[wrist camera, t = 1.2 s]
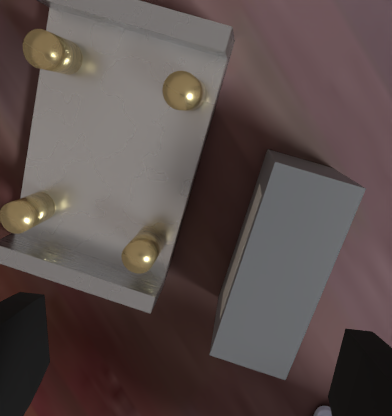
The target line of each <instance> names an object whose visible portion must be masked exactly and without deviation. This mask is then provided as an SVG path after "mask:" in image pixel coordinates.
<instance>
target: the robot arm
mask: <svg viewBox="0 0 392 416" xmlns="http://www.w3.org/2000/svg"><path fill="white" fill-rule="evenodd" d="M49 363H50V358H49V345H48V333H47V320H46V308H45V296H44V295H41V294H32V293H24V292H19V293H17V294H15V295H13V296H11V297H9V298H7V299H5V300H3V301H1V302H0V416H23V415H24V414H25V412H26V410H27V409H28V407H29V405H30V403H31V402H32V399H33V397H34V395H35V393H36V391H37V389H38V387H39V385H40V383H41V381H42V378H43V376H44V374H45V372H46V369H47V367H48V365H49ZM328 398H329V403H330V407H328V406H320V407H318V408H317V409H316V411H315V413H314V415H313V416H392V348H391V347H390V346H389V345H388V344H387V343H385V342H384V341H383V340H382V339H381V338H380V337H378V336H377V335H376V334H375V333H373V332H370V331H362V330H353V329H345V333H344V337H343V341H342V345H341V348H340V352H339V356H338V360H337V364H336V368H335V372H334V375H333V379H332V383H331V387H330V391H329V395H328Z"/></svg>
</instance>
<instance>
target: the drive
mask: <svg viewBox="0 0 392 416" xmlns="http://www.w3.org/2000/svg"><path fill="white" fill-rule="evenodd" d="M365 190H366V188H364V187H363V186H361V185H359V184H358V183H356V182H355V181H353V180H351V179H350V178H348V177H346V176H345V175H343V174H342V173H340V172H338V171H337V170H335V169H334V168H331V167H327V166H324V165H321V164H317V163H314V162H310V161H307V160H303V159H300V158H297V157H293V156H290V155H286V154H283V153H280V152H276V151H273V150H269V149H267V152H266V155H265V158H264V161H263V164H262V167H261V170H260V173H259V176H258V179H257V182H256V185H255V188H254V191H253V194H252V197H251V200H250V204H249V207H248V210H247V213H246V216H245V219H244V222H243V225H242V228H241V231H240V234H239V237H238V240H237V243H236V246H235V249H234V252H233V255H232V258H231V261H230V264H229V267H228V270H227V273H226V276H225V279H224V282H223V285H222V288H221V291H220V294H219V297H218V304H217V310H216V316H215V323H214V329H213V336H212V342H211V349H210V356H213V357H216V358H219V359H222V360H225V361H228V362H231V363H234V364H237V365H241V366H244V367H247V368H250V369H253V370H256V371H259V372H262V373H265V374H268V375H271V376H274V377H277V378H280V379H283V380H286V378H287V376H288V373H289V371H290V368H291V366H292V364H293V361H294V359H295V356H296V354H297V352H298V349H299V347H300V345H301V342H302V340H303V337H304V335H305V333H306V330H307V328H308V325H309V323H310V321H311V318H312V316H313V314H314V311H315V309H316V306H317V304H318V302H319V299H320V297H321V294H322V292H323V290H324V287H325V285H326V283H327V280H328V278H329V275H330V273H331V271H332V268H333V266H334V263H335V261H336V259H337V256H338V254H339V252H340V249H341V247H342V244H343V242H344V240H345V237H346V235H347V232H348V230H349V228H350V225H351V223H352V221H353V218H354V216H355V213H356V211H357V209H358V206H359V204H360V201H361V199H362V197H363V194H364V192H365Z"/></svg>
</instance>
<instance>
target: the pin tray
mask: <svg viewBox="0 0 392 416" xmlns="http://www.w3.org/2000/svg"><path fill="white" fill-rule="evenodd" d="M37 1H39V2H40V3H42V4H44V5H46V6H48V7H50V8H49V15H48V21H47V28H46V30H43V29H34V30H32V31H30V32H29V33H28V34H27V35H26V37H25V39H24V41H23V53H24V56H25V58H26V60H27V61H28V62H29V63H30V64H31V65H32V66H34V67H36V68H39V69H40V74H39V80H38V87H37V93H36V100H35V106H34V113H33V119H32V126H31V132H30V139H29V145H28V152H27V159H26V165H25V172H24V178H23V185H22V191H21V198H20V199H18V200H15V201H12V202H10V203H7V204H5V205H4V206H3V207H2V208H1V210H0V221H1V224H2V225H3V227H4V228H5V229H6V230H7V231H9V232H11V234H9V235H7V236H5V237H3V238H2V239H0V264H3V265H6V266H9V267H12V268H15V269H18V270H21V271H24V272H27V273H30V274H33V275H36V276H39V277H42V278H45V279H48V280H51V281H54V282H57V283H60V284H63V285H66V286H69V287H72V288H75V289H78V290H81V291H84V292H87V293H90V294H93V295H96V296H99V297H102V298H105V299H108V300H111V301H114V302H117V303H120V304H123V305H126V306H129V307H132V308H135V309H138V310H141V311H144V312H147V313H150V314H151V312H152V310H153V308H154V306H155V304H156V301H157V299H158V297H159V295H160V293H161V291H162V289H163V287H164V283H165V280H166V276H167V273H168V269H169V266H170V262H171V259H172V256H173V252H174V249H175V245H176V242H177V238H178V235H179V231H180V228H181V224H182V221H183V217H184V214H185V211H186V207H187V204H188V200H189V197H190V193H191V190H192V186H193V183H194V179H195V176H196V172H197V169H198V166H199V162H200V159H201V155H202V152H203V148H204V145H205V141H206V138H207V134H208V131H209V127H210V124H211V121H212V117H213V114H214V110H215V107H216V103H217V100H218V96H219V93H220V89H221V86H222V82H223V79H224V76H225V72H226V69H227V65H228V62H229V58H230V55H231V51H232V48H233V44H234V41H235V40H234V34H233V28H232V26H228V25H224V24H221V23H217V22H214V21H210V20H207V19H203V18H200V17H196V16H193V15H189V14H186V13H182V12H179V11H175V10H172V9H168V8H165V7H161V6H158V5H154V4H150V3H147V2H143V1H140V0H37Z"/></svg>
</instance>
